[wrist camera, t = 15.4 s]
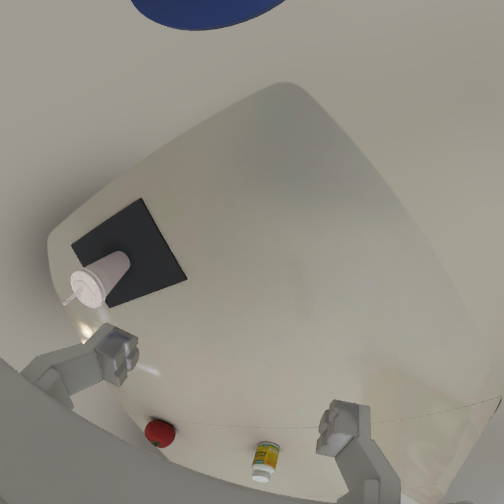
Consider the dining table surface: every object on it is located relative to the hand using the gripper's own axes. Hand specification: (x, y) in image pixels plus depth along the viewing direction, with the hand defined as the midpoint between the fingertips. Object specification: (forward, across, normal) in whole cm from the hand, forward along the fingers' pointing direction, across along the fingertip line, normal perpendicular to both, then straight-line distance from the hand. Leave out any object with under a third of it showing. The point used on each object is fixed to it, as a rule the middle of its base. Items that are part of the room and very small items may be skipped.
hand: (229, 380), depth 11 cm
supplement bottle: (+29, -9, +58) cm, 66 cm away
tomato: (+29, +18, +66) cm, 74 cm away
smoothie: (+29, +25, +18) cm, 42 cm away
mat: (+29, +26, +18) cm, 43 cm away
